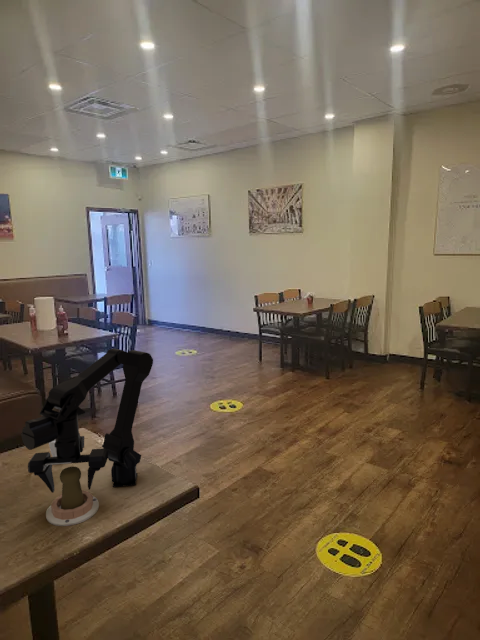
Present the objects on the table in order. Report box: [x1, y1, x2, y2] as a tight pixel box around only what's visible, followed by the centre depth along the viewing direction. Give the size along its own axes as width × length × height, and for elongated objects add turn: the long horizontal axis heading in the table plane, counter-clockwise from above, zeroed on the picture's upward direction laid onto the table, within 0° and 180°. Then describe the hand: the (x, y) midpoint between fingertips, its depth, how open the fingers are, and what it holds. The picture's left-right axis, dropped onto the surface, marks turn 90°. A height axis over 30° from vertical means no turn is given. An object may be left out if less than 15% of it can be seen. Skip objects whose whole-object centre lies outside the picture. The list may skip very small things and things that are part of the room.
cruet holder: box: [45, 489, 100, 527], centre depth 114 cm, size 13×13×3 cm
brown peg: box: [59, 465, 85, 510], centre depth 114 cm, size 6×6×11 cm
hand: (71, 490), depth 114 cm, fingers open, 9 cm apart
